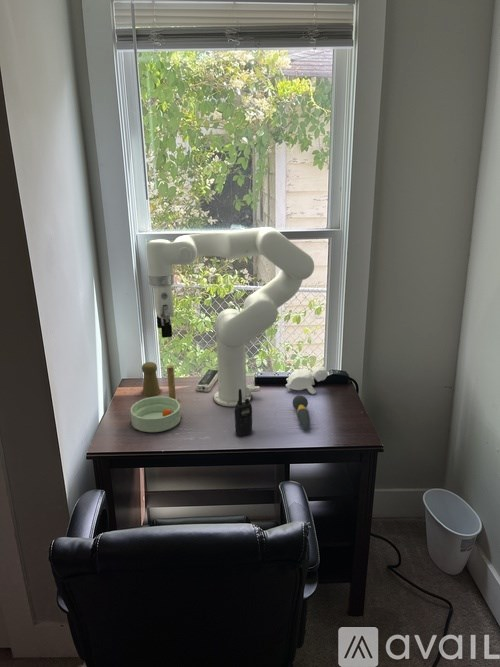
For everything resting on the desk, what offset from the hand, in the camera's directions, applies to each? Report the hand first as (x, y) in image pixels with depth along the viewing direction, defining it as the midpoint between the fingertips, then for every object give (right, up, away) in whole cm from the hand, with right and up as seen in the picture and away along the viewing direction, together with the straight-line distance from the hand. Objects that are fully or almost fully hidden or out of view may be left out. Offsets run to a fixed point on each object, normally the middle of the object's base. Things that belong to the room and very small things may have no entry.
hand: (164, 332), depth 165 cm
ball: (+1, -26, -3) cm, 26 cm away
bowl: (-2, -28, -3) cm, 28 cm away
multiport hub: (+12, -19, +24) cm, 33 cm away
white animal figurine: (+47, -20, +18) cm, 55 cm away
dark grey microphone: (+44, -27, -2) cm, 52 cm away
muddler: (+1, -24, +10) cm, 26 cm away
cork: (-8, -21, +17) cm, 28 cm away
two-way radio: (+25, -30, -10) cm, 41 cm away
